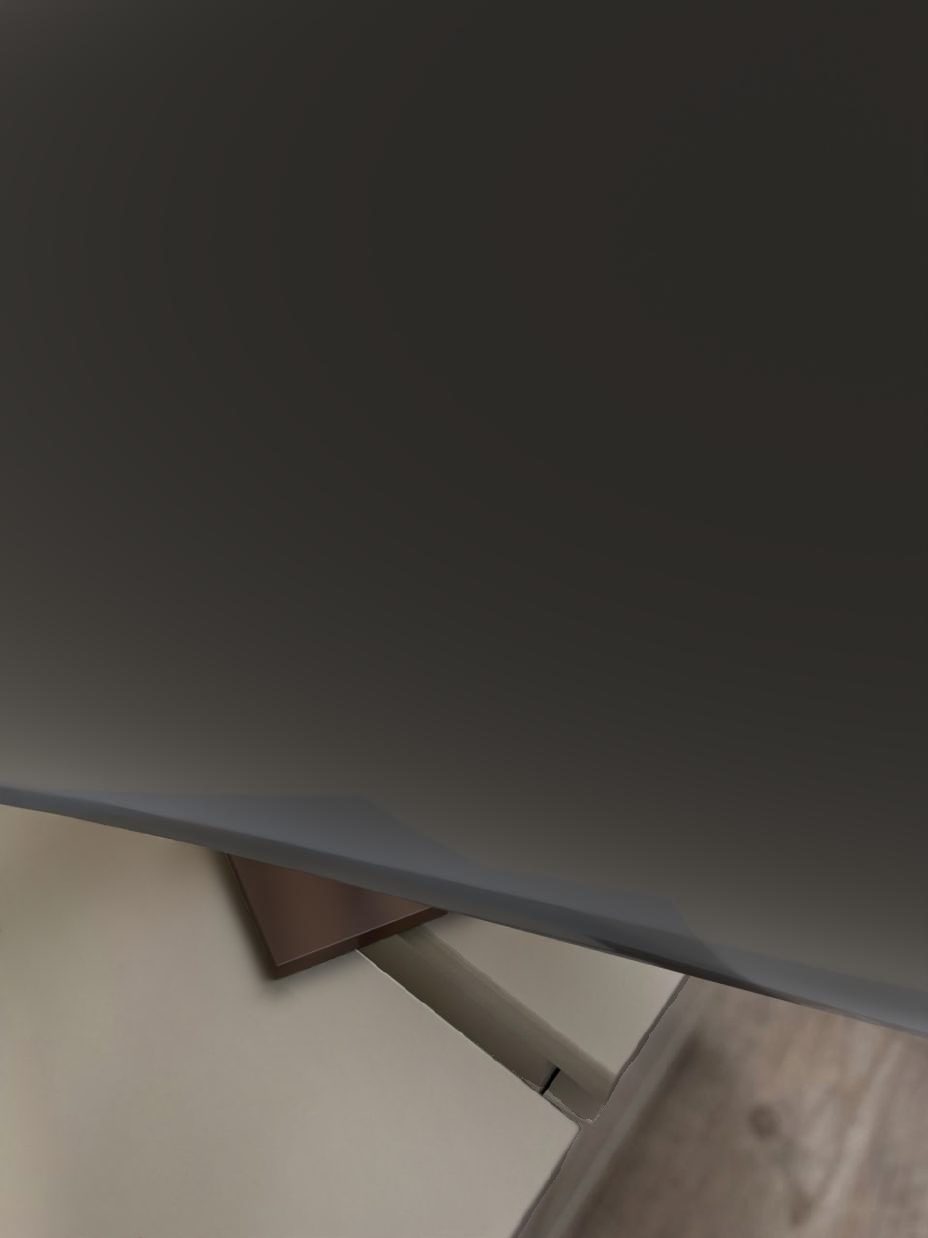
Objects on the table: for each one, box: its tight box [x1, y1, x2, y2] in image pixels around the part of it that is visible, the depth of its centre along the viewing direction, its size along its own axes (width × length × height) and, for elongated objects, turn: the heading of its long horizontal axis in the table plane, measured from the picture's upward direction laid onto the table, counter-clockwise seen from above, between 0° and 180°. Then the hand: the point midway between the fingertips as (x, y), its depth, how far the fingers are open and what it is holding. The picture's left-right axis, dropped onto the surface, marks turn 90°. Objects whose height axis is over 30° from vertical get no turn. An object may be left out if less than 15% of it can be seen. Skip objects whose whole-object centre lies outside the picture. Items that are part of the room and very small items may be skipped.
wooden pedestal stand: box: [224, 853, 450, 980], centre depth 43 cm, size 11×12×32 cm
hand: (723, 527), depth 44 cm, fingers closed on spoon, 2 cm apart
